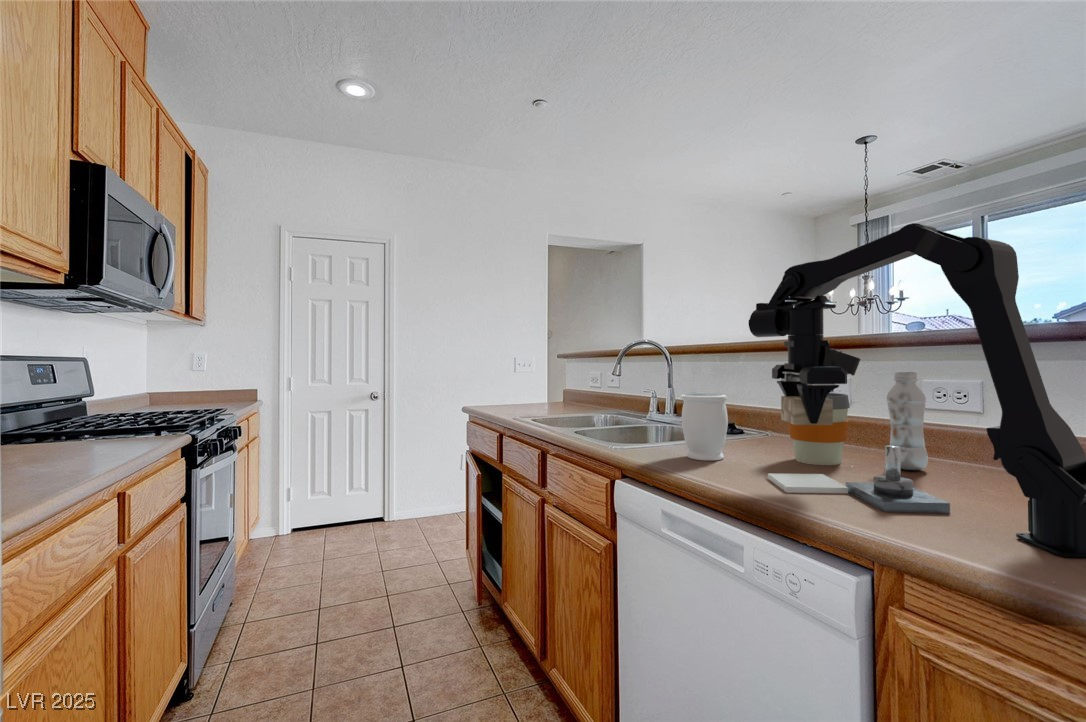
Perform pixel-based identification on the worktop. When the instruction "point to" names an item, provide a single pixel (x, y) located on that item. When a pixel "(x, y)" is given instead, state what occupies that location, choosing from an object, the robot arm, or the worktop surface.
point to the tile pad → (807, 483)
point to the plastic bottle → (907, 420)
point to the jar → (704, 425)
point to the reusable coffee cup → (822, 436)
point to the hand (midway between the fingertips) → (805, 420)
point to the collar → (796, 412)
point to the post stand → (896, 490)
